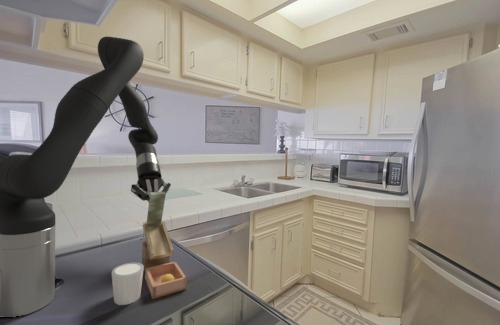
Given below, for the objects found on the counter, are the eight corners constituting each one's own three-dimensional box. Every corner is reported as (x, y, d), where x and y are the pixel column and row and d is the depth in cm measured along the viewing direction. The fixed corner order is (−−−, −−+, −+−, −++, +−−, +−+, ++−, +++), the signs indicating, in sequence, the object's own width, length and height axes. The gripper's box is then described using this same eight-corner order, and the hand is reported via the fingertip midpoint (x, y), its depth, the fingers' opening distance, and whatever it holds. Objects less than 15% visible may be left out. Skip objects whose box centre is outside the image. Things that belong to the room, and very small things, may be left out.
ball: (163, 285, 56) (161, 273, 58) (161, 291, 58) (159, 279, 60) (176, 281, 58) (174, 270, 60) (174, 288, 60) (171, 276, 62)
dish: (152, 299, 55) (152, 287, 55) (144, 278, 63) (145, 268, 63) (186, 289, 60) (186, 277, 59) (175, 271, 68) (175, 261, 68)
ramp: (150, 259, 63) (155, 222, 58) (142, 225, 74) (146, 191, 69) (172, 255, 67) (179, 219, 62) (162, 222, 77) (167, 190, 73)
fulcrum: (144, 271, 67) (145, 244, 67) (142, 264, 71) (142, 239, 71) (169, 265, 71) (169, 240, 71) (165, 259, 75) (166, 235, 75)
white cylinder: (129, 309, 51) (130, 278, 51) (103, 303, 53) (104, 273, 52) (149, 291, 58) (150, 264, 58) (125, 287, 59) (126, 260, 59)
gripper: (128, 160, 77) (133, 204, 67) (169, 161, 84) (178, 200, 74) (126, 175, 81) (130, 218, 71) (165, 174, 89) (173, 213, 79)
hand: (155, 209), depth 73 cm, fingers closed
